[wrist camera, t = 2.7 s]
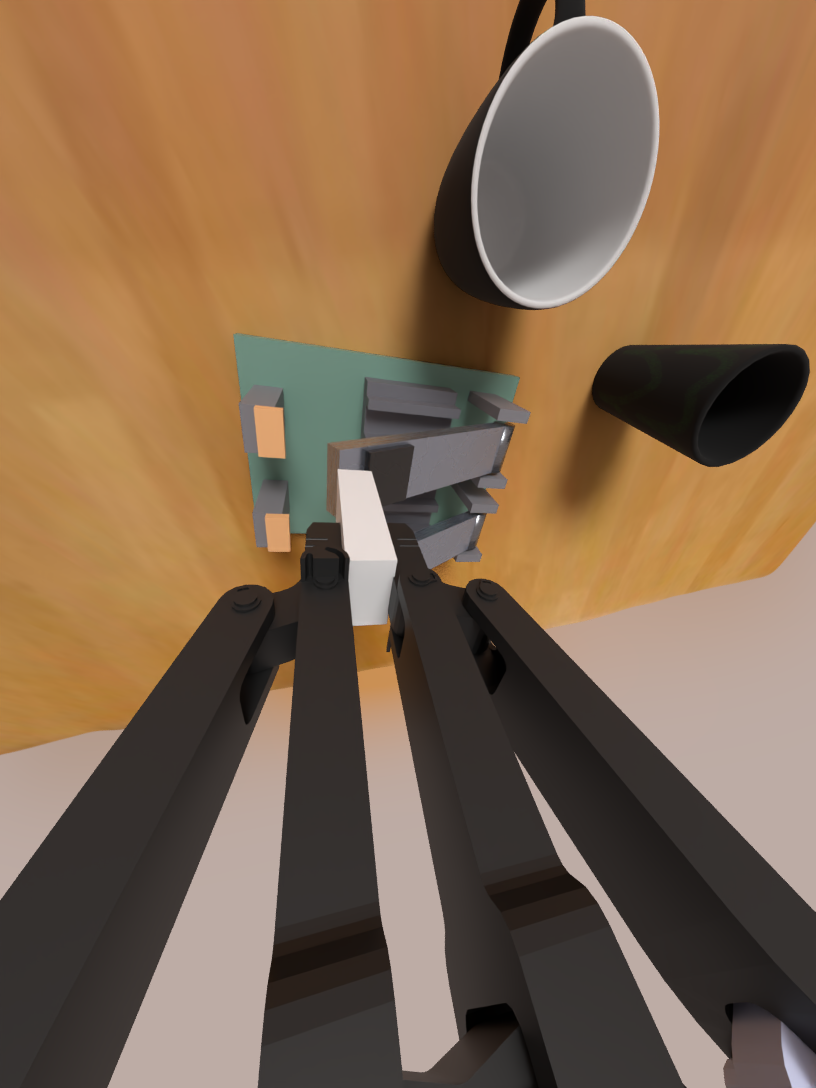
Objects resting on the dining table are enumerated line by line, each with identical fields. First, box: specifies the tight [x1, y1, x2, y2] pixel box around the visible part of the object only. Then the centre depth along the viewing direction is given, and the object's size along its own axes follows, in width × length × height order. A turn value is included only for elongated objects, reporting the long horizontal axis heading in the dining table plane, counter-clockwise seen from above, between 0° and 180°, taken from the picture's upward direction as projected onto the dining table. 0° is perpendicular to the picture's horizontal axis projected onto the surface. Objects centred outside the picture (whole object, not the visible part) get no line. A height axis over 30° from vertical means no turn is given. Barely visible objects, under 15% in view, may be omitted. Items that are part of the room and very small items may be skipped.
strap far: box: [414, 510, 487, 569], centre depth 25 cm, size 16×4×2 cm
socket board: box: [233, 333, 531, 562], centre depth 28 cm, size 22×16×8 cm
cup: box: [592, 344, 810, 467], centre depth 27 cm, size 8×8×12 cm
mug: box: [434, 0, 659, 310], centre depth 18 cm, size 12×9×10 cm
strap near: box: [326, 421, 515, 517], centre depth 21 cm, size 16×4×2 cm
